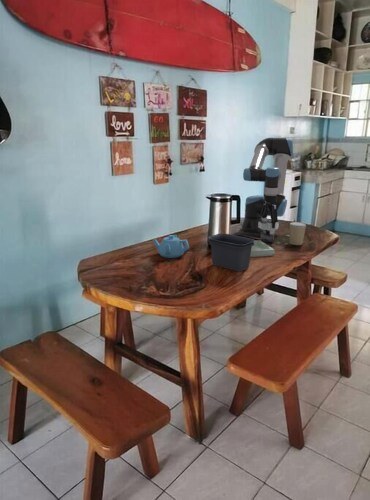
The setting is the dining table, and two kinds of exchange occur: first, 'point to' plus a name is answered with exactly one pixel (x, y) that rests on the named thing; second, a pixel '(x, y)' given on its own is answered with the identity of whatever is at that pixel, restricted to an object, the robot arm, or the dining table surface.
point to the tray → (261, 249)
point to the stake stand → (267, 237)
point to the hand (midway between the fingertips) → (267, 230)
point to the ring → (266, 224)
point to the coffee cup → (296, 233)
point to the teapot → (171, 246)
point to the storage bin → (231, 251)
